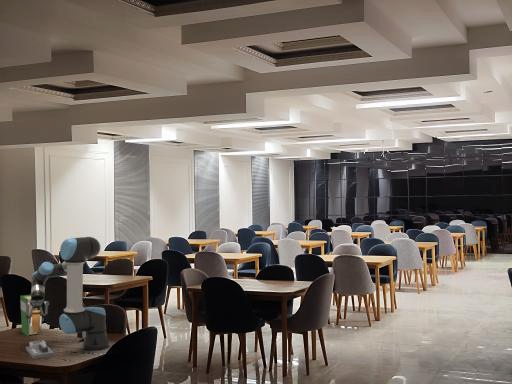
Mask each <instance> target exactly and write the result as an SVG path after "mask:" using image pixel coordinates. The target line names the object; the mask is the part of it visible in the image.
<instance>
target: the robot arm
mask: <svg viewBox="0 0 512 384" xmlns="http://www.w3.org/2000/svg"><path fill="white" fill-rule="evenodd" d="M100 252H101V244H100V241H98V239H96V238H95V237H93V236H80V237H71V238H66V239H64V240H63V241H62V243H61V245H60V249H59V254H60V258H61V259H62V260H63V262H61V263H55V264H53V263H51V262H50V261H45V262H44V261H43V262H42V264H41V265H40V266H39V268H37V269H38V270H36V271H35V272H33V273H32V276H31V291H30V292H31V293H30V295H31V301H30V302H29V303H27V302H26V303H25V305H26V318H27V319H28V318H29V323H31V325H30V327H31V329H32V326H33V321H32V311H34V310H35V308H38V309H39V310H40V328H41V329H42V325H43V323H44V322H45V318H48V315H49V314H48V311H49V310H48V309H49V305H50V301H49V300H45V288H46V282H47V280H48V279H50V278H54V277H55V278H56V277H63V276H66V307H65V308H63V313H62V314H61V315H60V316H59V319H58V321H59V322H58V323H59V326H60V329H61V331H62V332H63V334H66V335H75V334H77V333H79V332H84V331H86V335H85V338H83V339H84V340H83V343H82V349H83V350H87V351H97V350H105V349H108V348H109V347H110V345H111V342H110V340H109V337H108V334H107V324H106V323H107V321H106V320H107V319H106V316H107V314H106V309H105V308H104V307H98V306H87V307H84V306H83V291H84V288H83V287H84V286H83V285H84V283H83V281H84V274H83V273H84V264H85V263H86V262H87V261H88V260H92V259H94V258H95V257H97V256H98V255H99V253H100ZM30 304H31V306H32V309H31V312H30V315H29V306H30ZM43 306H44V311H43Z"/></svg>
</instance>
